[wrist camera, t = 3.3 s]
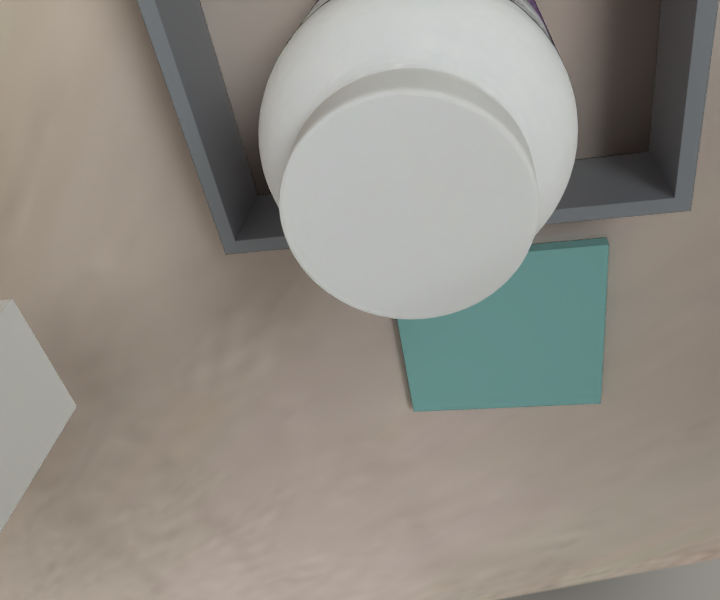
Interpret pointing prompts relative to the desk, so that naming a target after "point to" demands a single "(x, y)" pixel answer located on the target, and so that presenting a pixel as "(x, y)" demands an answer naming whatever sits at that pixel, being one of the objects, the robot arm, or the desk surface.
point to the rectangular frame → (589, 176)
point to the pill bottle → (417, 148)
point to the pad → (518, 337)
